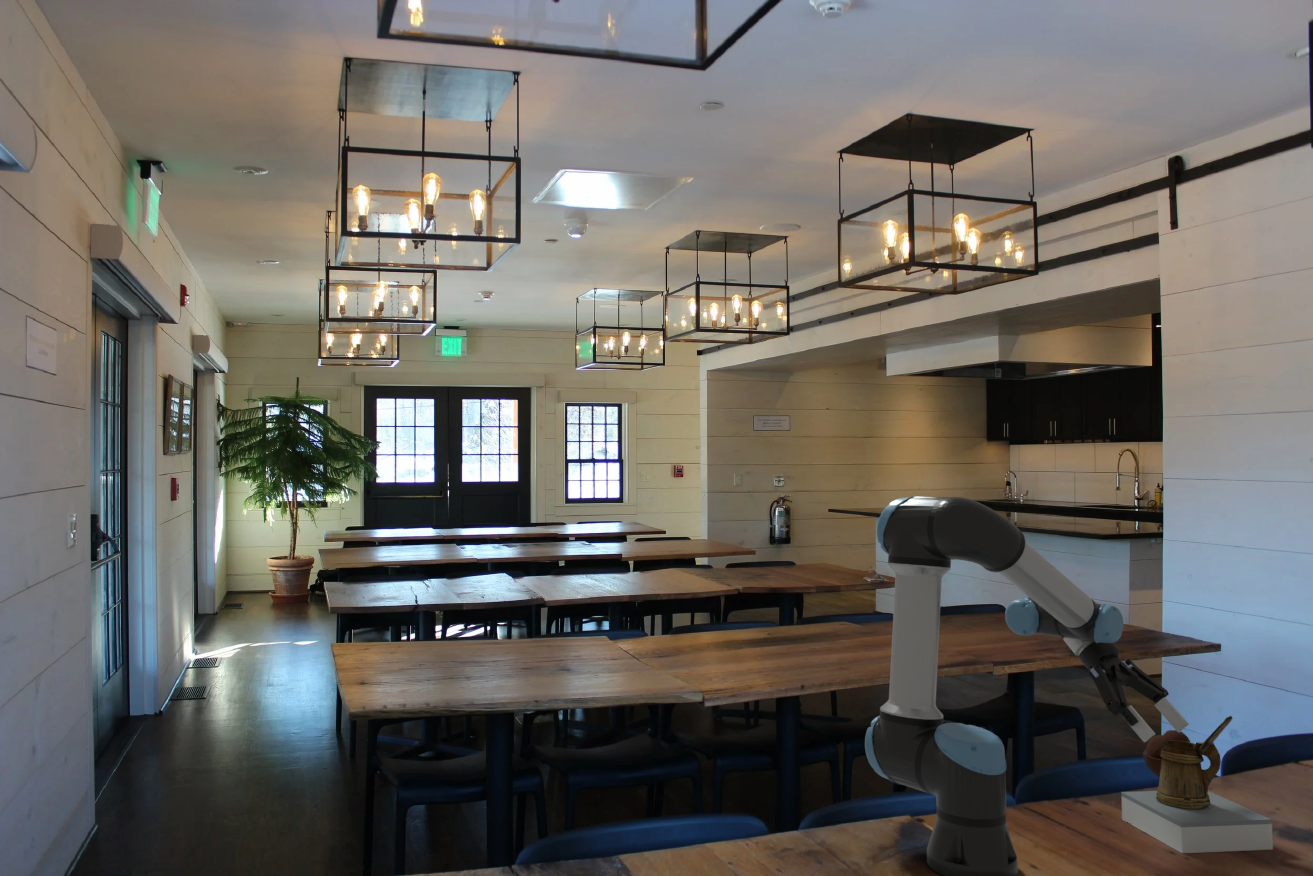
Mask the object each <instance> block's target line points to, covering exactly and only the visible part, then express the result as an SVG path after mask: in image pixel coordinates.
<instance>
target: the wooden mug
mask: <svg viewBox="0 0 1313 876" xmlns="http://www.w3.org/2000/svg"><path fill="white" fill-rule="evenodd" d="M1232 721H1233V716H1232V715H1229V716H1226V718H1225V719H1224V720H1223V722H1222V723H1220V724H1219V725H1218V726H1217V727H1216V729H1214V731H1212V732H1211V734H1210V735H1209V736H1208V737H1207V738H1206V739H1205V740H1204V741H1203V742H1202V741H1201V742H1200V741H1197V742H1196V743H1194V742H1191V741H1190V742H1186V741H1179V740H1166V741H1164V745H1163V748H1162V750H1161V757H1162V763H1161V771H1160V777H1159V781H1158V787H1157V790H1156V791H1157V794H1156V799H1157V800H1158V801H1159V802H1161V803H1163V804H1166V805H1169V806H1172V807H1178V808H1183V809H1204V808H1206V807H1207V806H1209V805H1210V799H1209V795H1208V791H1209V786H1210V785H1211V782H1212V781H1213V780H1214V778H1215V777H1216V776H1217V774H1218V772H1219V771H1220V769H1221V763H1222V761H1221V754H1220V752H1219V750H1218V748H1217V747H1216V745H1215V741H1216V740H1217V739H1218V737H1219V736H1220V735H1221V734H1222V732H1223V731H1224V730H1225V729H1226V728H1227V726H1228V725H1229V724H1230V723H1231V722H1232ZM1204 757H1206V758H1207V759H1208V760H1209V763H1210V765H1209V767H1208V768H1207V769H1202V764H1201V763H1202V762H1204V761H1205V760H1204Z"/></svg>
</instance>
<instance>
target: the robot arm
mask: <svg viewBox="0 0 1313 876" xmlns="http://www.w3.org/2000/svg"><path fill="white" fill-rule="evenodd" d="M876 526H877V527H876V538H877V541H878V543H879V544H880V548H881V550H882V551H884V552H885V553H886V554H887V555H888V557H887V558H888V559H887V560H888V561H887V565H888V566H889V567H890V569H891V570H892V571H893V572H894V574H895V575H894V576H895V577H894V578H895V579H894V581H895V582H894V598H893V613H892V614H893V615H892V617H893V619H892V631H891V632H892V634H891V636H892V637H891V650H890V671H889V691H888V700H887V701H886V702H885V703H884V704H883V705H881V706H880V707H879V715H878V716H876V717H874V718H873V720H871V722H870V726H869V727H868V728H867V729H866V733H865V737H864V749H865V755H866V758H867V761H868V763H869V766H871V768H872V769H873V771H874V772H875V773H876V774H877V775H879V776H880V777H882V778H884V779H886V780H888V781H890V782H891V783H894V784H896V785H898V786H899V785H901V786H902V785H903V786H906V787H908V788H911V789H914V790H917V791H921V792H924V793H926V794H929V795H933V796H935V798H936V801H935V802H936V819H935V823H934V824H933V827H932V830H931V831H932V832H931V834H930V837H929V841H928V844H927V848H926V863H927V865H928V866H929V868H930V870H933V871H934V872H936V873H938V874H939V875H941V876H1018V874H1019V859H1018V855H1017V853H1016V849H1015V847H1014V843H1013V841H1012V838H1011V835H1010V832H1009V829H1008V826H1007V776H1006V775H1007V774H1006V771H1007V767H1008V765H1007V761H1006V753H1005V745H1004V744H1003V741H1002V740H1001V738H999V736H998V735H996V733H995V734H994V733H993V732H992V731H990V730H988V729H985V728H983V727H981V726H980V727H979V726H976V725H972V724H964V723H962V722H946V723H944V714H943V713H942V711H940V709H938V706H937V705H936V703H937V702H936V701H937V684H938V683H937V681H938V666H939V665H938V664H939V663H938V661H939V659H938V658H939V642H940V641H939V639H940V622H941V621H940V620H941V604H942V603H941V600H942V597H941V596H942V578H943V577H944V576H945V575H946V574H947V573H949V571H950V570H951V566H952V565H951V564H952V560H958V561H965V562H969V563H970V562H971V563H973V564H976V565H980V566H981V567H982V568H984V569H985V570H986V571H988V572H991V573H996V574H997V573H998V574H999V575H1001V576H1002V577H1004V578H1005V579H1006V580H1007V581H1009V582H1010V584H1012V585H1013V586H1014V587H1015V588H1017V589H1018V590H1020V591H1021V592H1022V593H1023V594H1025V596H1027V597H1020V598H1018V599H1015V600H1013V601H1010V603H1009V604H1008V605H1007V606H1006V608H1005V612H1004V613H1005V614H1004V620H1005V623H1006V625H1007V626H1008V628H1009V629H1010V631H1011V632H1013V633H1014V634H1016V635H1019V636H1029V637H1030V636H1033V635H1043V636H1044V635H1045V636H1050V637H1056V638H1057V637H1058V638H1061V639H1062V641H1064V642H1065V644H1066V645H1067V646H1068V647H1069V649H1070V650H1071V651H1072V652H1073V653H1074V655H1075V656H1078V660H1080V662H1081V663H1082V665H1084V667H1086V669H1087V670H1088V671H1087V674H1088V675H1089V677H1090V678H1091V679H1092V680H1093V682H1094V684H1095V687H1097V690H1098V692H1099V695H1100V697H1101V698H1102V701H1103V703H1104V704H1105V707H1106V709H1107V710H1108V711H1109V712H1111V713H1112V715H1113V716H1116V717H1117V716H1118V715H1119V714H1120V716H1121V717H1122V718H1123V719H1124V721H1125V722H1126V723H1127V724H1128V725H1129V727H1130V728H1131V729H1132V730H1133V731H1134V732H1135V733H1136V735H1137V736H1138V737H1139V738H1140V739H1141V741H1142V742H1143V743H1148V742H1149V740H1150V739H1151V738H1153V737H1154V736H1156V733H1155V731H1154V730H1153V729H1152V728H1151V726H1149V725H1148V723H1147V721H1145V719H1144V718H1143V717H1142V716H1141V715H1140V714H1139V713H1138V712H1137V710H1136V709H1135V708H1134V707H1133V705H1129V706H1128V702H1127V699H1126V694H1125V692H1124V689H1123V686H1124V687H1127V688H1128V687H1130V688H1131V689H1133V690H1134V691H1135V692H1138V693H1139V694H1141V695H1142V696H1144V697H1145V698H1147V699H1148V700H1150V701H1152V702H1153V703H1155V704H1154V707H1155V708H1156V709H1157V710H1158V711H1159V713H1160V714H1161V715H1162V716H1163V718H1165V719H1166V721H1167V722H1168V723H1169V724H1170V725H1171V726H1172V727H1173V728H1174V729H1173V730H1176V731H1177V732H1183V730H1184V729H1186V727H1188V726H1189V725H1190V723H1189V722H1188V721H1187V720H1186V719H1185V717H1184V716H1183V715H1182V714H1181V713H1180V712H1179V711H1178V709H1176V707H1174V705H1173V704H1172V702H1170V701H1169V700H1168V698H1167V696H1169V692H1168V690H1167V689H1166V688H1165V687H1164V686H1162V685H1161V684H1160V683H1158V682H1157V681H1156V680H1155V679H1153V678H1152V677H1151V676H1149V675H1148V674H1147V673H1145V672H1144V671H1143V670H1142V669H1140V668H1139V667H1138V666H1137V665H1136V664H1135V663H1134V661H1132V660H1131V659H1130V658H1126V659H1125V660H1124V661H1122V660H1121V659H1119V658H1118V656H1119V653H1120V648H1119V647H1118V646H1117V645H1116V644H1115V643H1116V642H1117V641H1119V639H1121V637H1122V634H1123V630H1124V625H1125V624H1124V618H1123V617H1124V616H1123V614H1122V612H1121V610H1120V609H1119V608H1118V607H1117V606H1114V605H1110V604H1107V603H1097V602H1096V601H1095V600H1093V599H1092V598H1091V597H1090V596H1089V595H1087V593H1085V592H1084V591H1083V590H1082V589H1081V588H1079V587H1078V586H1077V585H1076V584H1075V583H1074V582H1072V580H1070V579H1069V578H1068V577H1067V576H1066V575H1064V573H1062V572H1061V571H1060V570H1058V569H1057V567H1055V566H1054V565H1052V563H1051V562H1049V561H1048V560H1047V559H1046V558H1045V557H1044V556H1043V555H1041V554H1040V553H1039V552H1038V551H1036V550H1035V548H1034V547H1032V546H1030V545H1029V543H1027V540H1026V536H1025V533H1023V532H1022V530H1021V529H1020V528H1018V526H1017V525H1015V524H1014V523H1013V522H1011V521H1010V520H1009V519H1008V518H1006V517H1005V516H1003V515H1002V514H1000V513H999V512H997V511H996V510H994V509H993V508H991V507H988V506H987V505H985V504H982V503H981V502H978V501H976V500H973V499H971V498H966V497H963V496H962V497H961V496H951V497H950V496H948V497H947V496H946V497H945V496H916V495H915V496H914V495H912V496H908V497H907V496H906V497H899V498H896V499H893V500H892V501H891V502H889V504H888V505H887V506H885V508H884V509H883V510H882V511H881V514H880V516H879V518H878V522H877V525H876Z"/></svg>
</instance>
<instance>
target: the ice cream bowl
mask: <svg viewBox="0 0 1313 876" xmlns="http://www.w3.org/2000/svg"><path fill="white" fill-rule="evenodd" d="M1166 740H1179V741H1186V742H1190V743H1191V739H1190V738H1189V737H1188V736H1187V734H1185V733H1184V732H1183V731H1180V732H1177V731H1176V730H1175V729H1169V730H1167V731H1165V732H1164V733H1163V734H1157V735H1154V736H1153V737H1151V738H1150V739H1149V740H1148V741H1147V744H1146V748H1145V749H1144V750H1143V751H1142V757H1143V760H1144V763H1145V765H1146V767H1147V768H1148V770H1150V771H1151V772H1152V773H1153V774H1154V775H1156V776H1157V777H1158V778H1160V771H1161V763H1162V757H1161V750H1162V748H1163V745H1164V741H1166Z"/></svg>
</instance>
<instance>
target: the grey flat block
mask: <svg viewBox="0 0 1313 876" xmlns="http://www.w3.org/2000/svg"><path fill="white" fill-rule="evenodd" d="M1120 793H1121V819H1122V821H1124V822H1126V823H1127V822H1128V823H1127V824H1129V823H1130V824H1129V825H1131V826H1133V827H1134V828H1137V829H1138V830H1140V831H1142V832H1144V833H1146V834H1147V835H1149V836H1150V837H1152V838H1155V840H1157V841H1159V842H1161V843H1163V844H1164V845H1167V846H1168V847H1170V848H1172V849H1173V850H1175V851H1177V852H1179V853H1180V854H1193V853H1194V854H1195V853H1196V854H1197V853H1200V854H1201V853H1221V852H1241V851H1244V852H1245V851H1266V850H1267V851H1268V850H1271V851H1272V850H1273V849H1274V846H1273V845H1274V844H1273V843H1274V842H1273V839H1274V838H1273V819H1271V818H1269V817H1268V816H1265V815H1263V814H1260V813H1258V812H1256V811H1254V810H1252V809H1250V808H1247V807H1245V806H1243V805H1241V804H1238V803H1236V802H1234V801H1232V800H1229V799H1227V798H1225V797H1222V796H1220V795H1219V794H1216V793H1214V792H1212V791H1209V790H1208V795H1209V799H1210V805H1209V806H1207V807H1206V808H1204V809H1183V808H1178V807H1172V806H1169V805H1166V804H1163V803H1161V802H1159V801H1158V800H1157V799H1156V794H1157V790H1142V791H1141V790H1140V791H1139V790H1138V791H1121V792H1120Z"/></svg>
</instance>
